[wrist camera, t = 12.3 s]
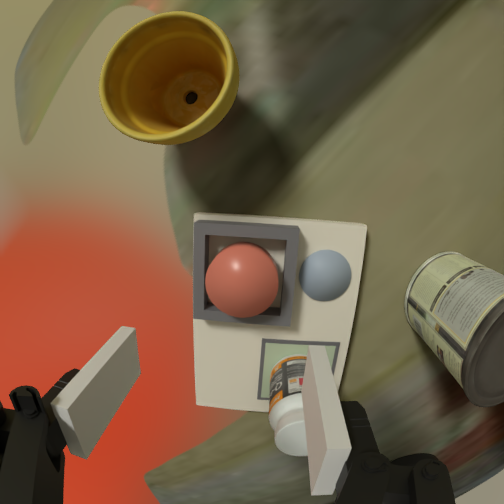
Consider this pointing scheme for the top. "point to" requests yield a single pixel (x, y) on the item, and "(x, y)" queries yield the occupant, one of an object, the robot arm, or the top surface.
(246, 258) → the button
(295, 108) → the top surface
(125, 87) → the plant pot
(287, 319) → the white control panel
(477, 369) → the coffee can
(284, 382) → the pill bottle
